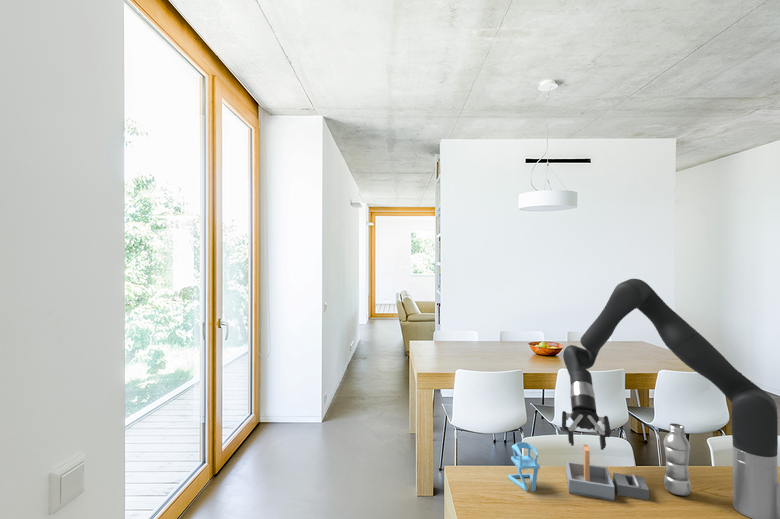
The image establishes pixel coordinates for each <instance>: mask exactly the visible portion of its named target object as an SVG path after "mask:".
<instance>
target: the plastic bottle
mask: <svg viewBox="0 0 780 519" xmlns="http://www.w3.org/2000/svg"><path fill="white" fill-rule="evenodd" d="M668 427H669V428H668V431H669V433H667V434H666V435H665V437H664V438H663V446H664V452H665V453H664V454H665V465H666V466H665V474H664V477H663V478H664V479H663V483H664V487H665V488H666V490H667V491H668V492H670V493H671V494H674V495H675V496H682V497H687V496H688V495H690V493H691V491H692V485H691V480H690V474H689V471H690V470H689V460H690V459H689V458H690V454H691V453H690V452H691V444H690V442H689V440H688V438H687V437H686V436H685V434H686V431H685V430H686V429H685V425H682V424H679V423H675V422H673V423H671V422H670V423H669V426H668Z"/></svg>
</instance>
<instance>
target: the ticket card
mask: <svg viewBox="0 0 780 519" xmlns="http://www.w3.org/2000/svg"><path fill="white" fill-rule="evenodd" d="M590 456H591V455H590V448H589V446H588V444H583V464H584V479H585V481H588V482H590V465H591V463H590V462H591V461H590Z"/></svg>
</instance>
